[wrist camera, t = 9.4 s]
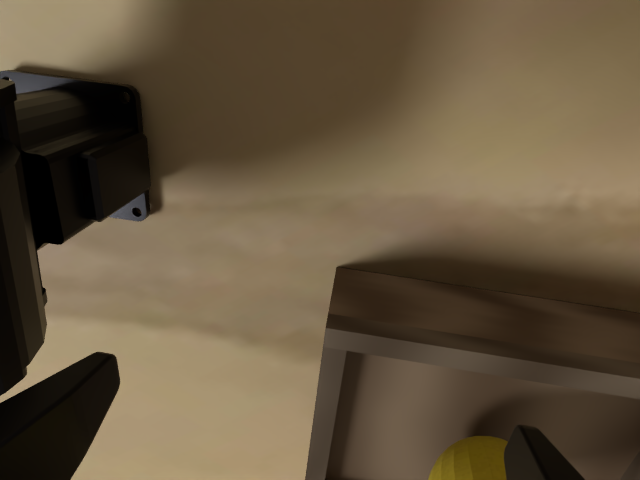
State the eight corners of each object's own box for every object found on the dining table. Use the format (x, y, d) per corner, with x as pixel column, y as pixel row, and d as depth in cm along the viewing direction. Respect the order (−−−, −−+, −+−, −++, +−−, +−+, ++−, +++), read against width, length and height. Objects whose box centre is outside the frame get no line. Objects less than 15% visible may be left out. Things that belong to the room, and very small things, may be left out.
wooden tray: (314, 426, 27) (301, 504, 23) (336, 267, 22) (325, 328, 17) (569, 472, 26) (608, 562, 22) (659, 316, 21) (737, 394, 16)
